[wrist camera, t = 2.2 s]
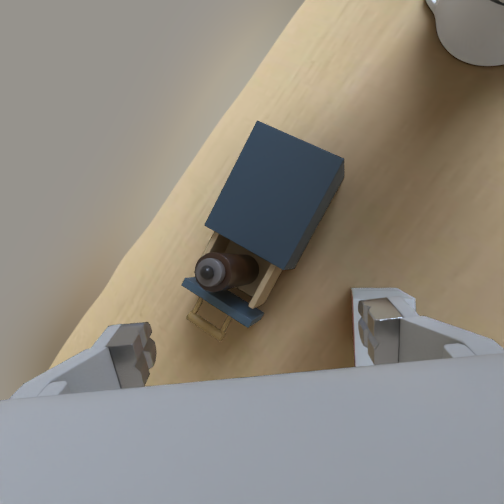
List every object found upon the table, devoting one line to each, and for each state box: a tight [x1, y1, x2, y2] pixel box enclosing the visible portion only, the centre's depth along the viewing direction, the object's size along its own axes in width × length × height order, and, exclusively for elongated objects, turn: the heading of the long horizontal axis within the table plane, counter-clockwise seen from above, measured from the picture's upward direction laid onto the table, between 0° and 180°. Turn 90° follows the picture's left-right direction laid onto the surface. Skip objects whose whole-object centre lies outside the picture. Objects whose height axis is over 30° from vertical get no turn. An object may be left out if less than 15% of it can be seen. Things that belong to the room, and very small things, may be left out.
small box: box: [351, 288, 416, 367], centre depth 40 cm, size 8×6×13 cm
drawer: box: [182, 232, 282, 342], centre depth 47 cm, size 19×11×7 cm, turn 151°
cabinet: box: [205, 121, 344, 270], centre depth 46 cm, size 16×13×9 cm
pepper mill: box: [195, 252, 259, 292], centre depth 42 cm, size 5×5×15 cm
